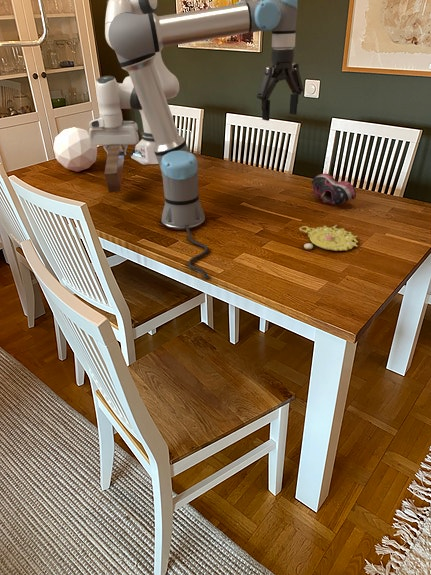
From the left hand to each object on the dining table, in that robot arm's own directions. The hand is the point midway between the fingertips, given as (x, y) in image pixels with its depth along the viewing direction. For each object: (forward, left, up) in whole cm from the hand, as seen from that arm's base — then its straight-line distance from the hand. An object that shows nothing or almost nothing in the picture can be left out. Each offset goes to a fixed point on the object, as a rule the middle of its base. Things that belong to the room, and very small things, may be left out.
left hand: (116, 155), depth 186 cm
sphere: (-31, -2, -12) cm, 34 cm away
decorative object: (+96, +13, -12) cm, 98 cm away
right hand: (+62, +29, +18) cm, 71 cm away
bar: (+8, -6, -5) cm, 11 cm away
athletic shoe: (+78, +41, -12) cm, 89 cm away
